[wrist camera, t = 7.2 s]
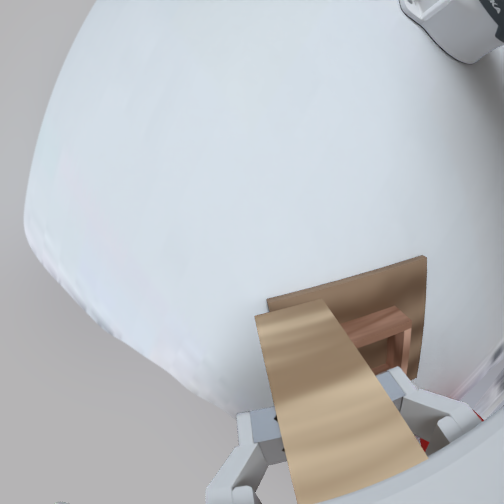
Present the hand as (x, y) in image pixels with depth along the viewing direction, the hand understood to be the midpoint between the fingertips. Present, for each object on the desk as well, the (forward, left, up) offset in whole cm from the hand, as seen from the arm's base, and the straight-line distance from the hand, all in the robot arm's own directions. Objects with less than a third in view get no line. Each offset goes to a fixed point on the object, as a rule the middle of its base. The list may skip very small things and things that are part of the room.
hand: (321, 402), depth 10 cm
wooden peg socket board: (+15, +10, -20) cm, 27 cm away
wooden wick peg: (0, 0, -5) cm, 5 cm away
